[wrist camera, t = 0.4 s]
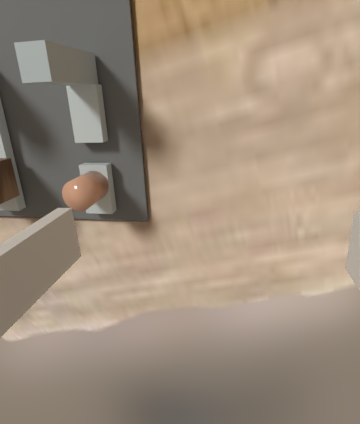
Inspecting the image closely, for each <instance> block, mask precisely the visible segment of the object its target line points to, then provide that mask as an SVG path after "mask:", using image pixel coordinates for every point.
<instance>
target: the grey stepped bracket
mask: <svg viewBox="0 0 360 424" xmlns="http://www.w3.org/2000/svg"><path fill="white" fill-rule="evenodd" d="M0 158H11V160H12V165H13V169H14V173H15V177H16V181H17V186H18V190H19V194H20V195H19V196H17V197H15V198H13V199H11V200H8V201H6V202H4V203H2V204H0V210H5V211H20V210H22V209H24V208H26V205H25V201H24V196H23V192H22V188H21V183H20V179H19V175H18V171H17V166H16V162H15V158H14V154H13V149H12V145H11V141H10V136H9V132H8V128H7V124H6V119H5V115H4V111H3V107H2V102H1V98H0Z"/></svg>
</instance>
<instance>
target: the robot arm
mask: <svg viewBox="0 0 360 424" xmlns="http://www.w3.org/2000/svg"><path fill="white" fill-rule="evenodd" d="M80 257H81V252H80V247H79V242H78V237H77V232H76V227H75V222H74V217H73V212H72V208H57V209H55V210H54V211H52V212H51V213H49V214H47V215H46V216H44V217H43V218H41V219H39V220H38V221H36V222H35V223H33V224H31V225H30V226H28V227H27V228H25V229H23V230H22V231H20V232H18V233H17V234H15V235H14V236H12V237H10V238H9V239H7V240H6V241H4V242H2V243H1V244H0V337H1V336H2V335H3V334H4V333H5V332H6V331H7V330H8V329H9V328H10V327H11V326H12V325H13V324H14V323H15V322H16V321H17V320H18V319H19V318H20V317H21V316H22V315H23V314H24V313H25V312H26V311H27V310H28V309H29V308H30V307H31V306H32V305H33V304H34V303H35V302H36V301H37V300H38V299H39V298H40V297H41V296H42V295H43V294H44V293H45V292H46V291H47V290H48V289H49V288H50V287H51V286H52V285H53V284H54V283H55V282H56V281H57V280H58V279H59V278H60V277H61V276H62V275H63V274H64V273H65V272H66V271H67V270H68V269H69V268H70V267H71V266H72V265H73V264H74V263H75V262H76V261H77V260H78V259H79V258H80ZM345 268H346V269H347V271H348V273H349V275H350V276H351V278H352V280H353V281H354V283H355V285H356V286H357V288H358V290H359V291H360V211H354V216H353V222H352V229H351V235H350V242H349V248H348V254H347V261H346V267H345Z"/></svg>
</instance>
